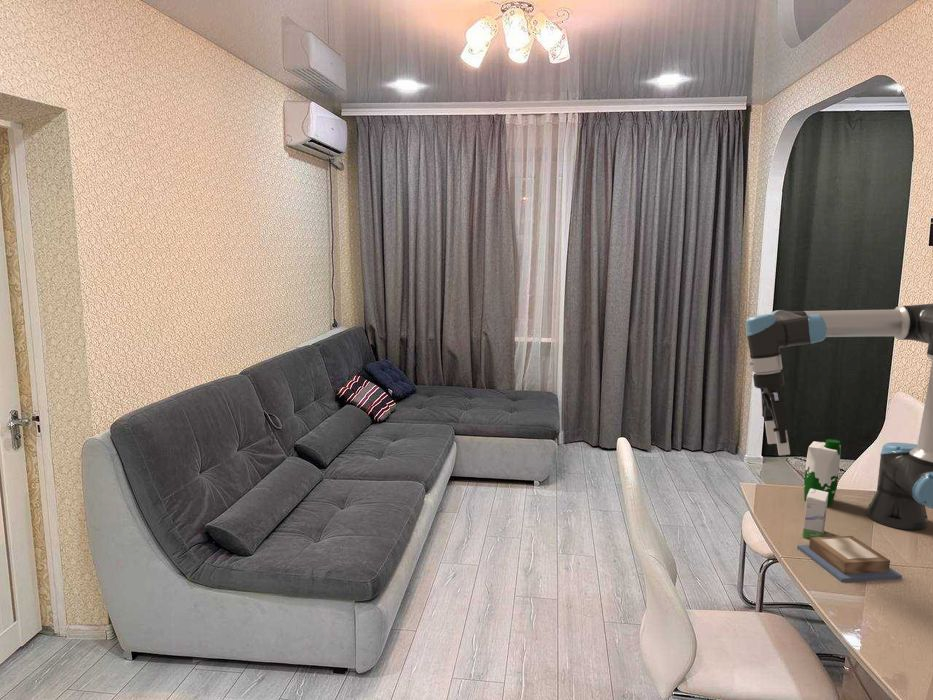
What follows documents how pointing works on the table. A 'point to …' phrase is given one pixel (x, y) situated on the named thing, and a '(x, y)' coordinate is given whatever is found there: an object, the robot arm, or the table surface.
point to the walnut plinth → (849, 555)
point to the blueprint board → (847, 577)
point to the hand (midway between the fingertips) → (778, 449)
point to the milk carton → (822, 468)
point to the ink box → (815, 513)
